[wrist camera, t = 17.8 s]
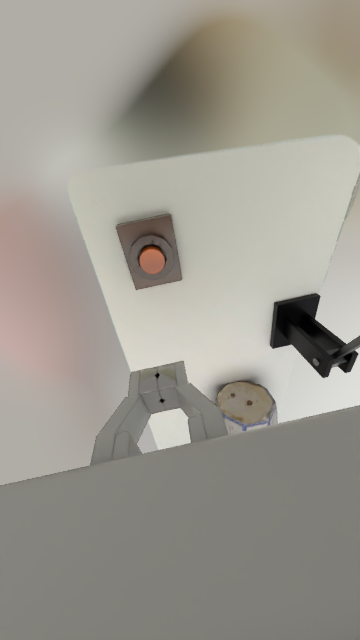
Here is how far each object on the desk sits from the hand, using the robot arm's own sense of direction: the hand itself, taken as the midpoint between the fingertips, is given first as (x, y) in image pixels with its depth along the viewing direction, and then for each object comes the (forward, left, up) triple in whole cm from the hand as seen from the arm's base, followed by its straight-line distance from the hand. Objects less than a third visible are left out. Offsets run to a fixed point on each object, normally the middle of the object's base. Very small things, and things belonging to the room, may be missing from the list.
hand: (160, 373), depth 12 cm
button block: (0, 0, -26) cm, 26 cm away
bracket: (-1, +34, -26) cm, 43 cm away
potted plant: (+30, +42, -26) cm, 58 cm away
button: (0, 0, -23) cm, 23 cm away
